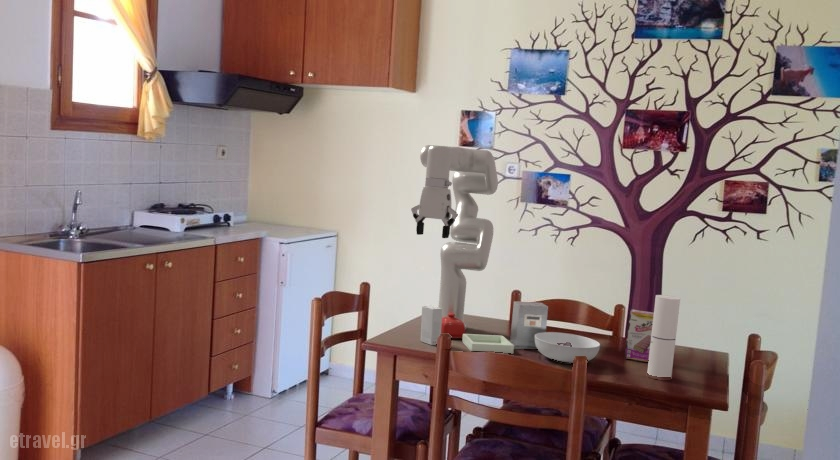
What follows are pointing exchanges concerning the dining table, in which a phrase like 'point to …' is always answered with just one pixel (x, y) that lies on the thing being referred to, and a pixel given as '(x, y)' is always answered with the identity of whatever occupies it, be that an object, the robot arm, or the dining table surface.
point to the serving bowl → (551, 349)
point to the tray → (487, 343)
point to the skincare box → (430, 324)
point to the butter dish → (453, 326)
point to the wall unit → (527, 323)
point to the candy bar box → (639, 334)
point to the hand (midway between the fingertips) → (432, 236)
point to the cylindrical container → (663, 336)
